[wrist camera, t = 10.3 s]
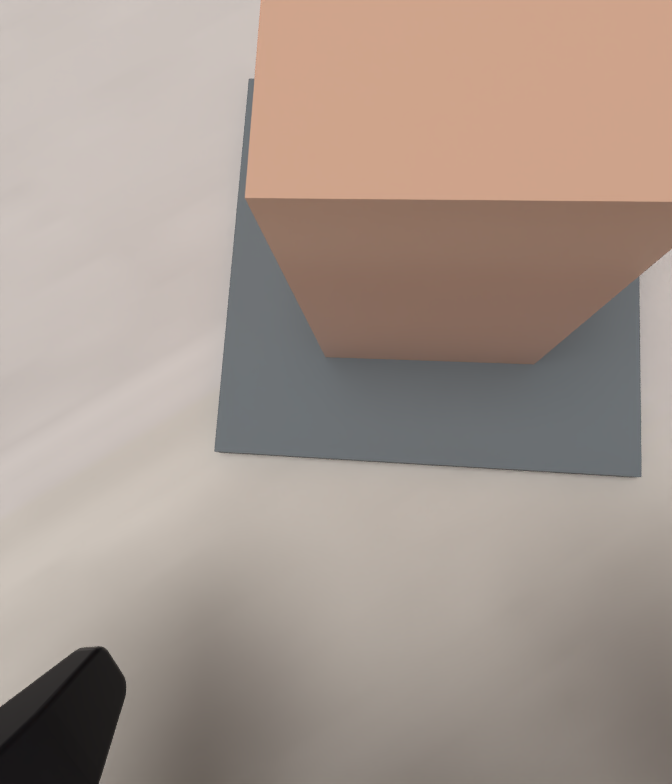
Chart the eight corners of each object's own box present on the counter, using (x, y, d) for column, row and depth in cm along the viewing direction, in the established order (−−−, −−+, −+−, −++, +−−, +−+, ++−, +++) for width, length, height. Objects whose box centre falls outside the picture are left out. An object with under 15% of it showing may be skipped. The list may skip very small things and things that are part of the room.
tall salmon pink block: (534, 364, 17) (726, 201, 7) (325, 357, 18) (244, 198, 8) (535, 168, 18) (707, -211, 8) (336, 168, 19) (275, -188, 9)
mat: (634, 477, 17) (641, 477, 16) (218, 452, 18) (214, 450, 18) (630, 88, 19) (636, 77, 18) (252, 88, 20) (248, 78, 19)
